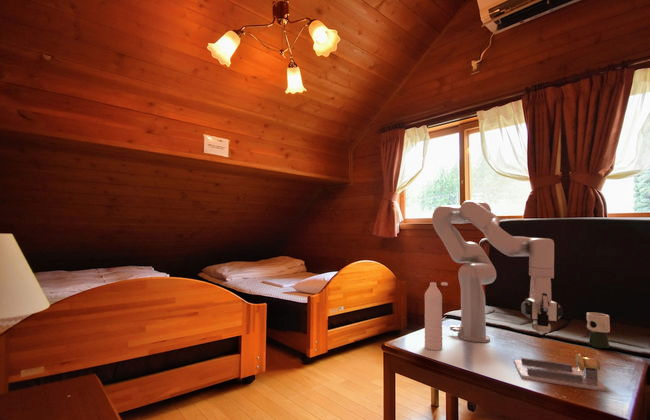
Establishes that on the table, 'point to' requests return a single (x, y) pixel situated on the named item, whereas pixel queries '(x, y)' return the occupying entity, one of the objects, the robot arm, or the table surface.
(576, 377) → the manifold plate
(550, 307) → the pneumatic valve
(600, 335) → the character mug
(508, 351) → the table surface
